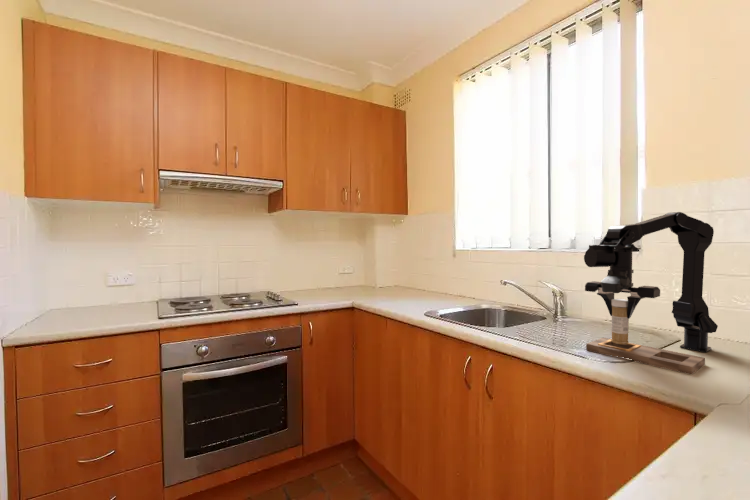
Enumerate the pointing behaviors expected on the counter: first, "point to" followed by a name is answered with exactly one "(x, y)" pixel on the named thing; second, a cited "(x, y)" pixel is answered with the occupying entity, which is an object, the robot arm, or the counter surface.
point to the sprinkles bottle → (620, 321)
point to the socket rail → (648, 355)
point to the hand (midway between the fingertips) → (620, 317)
